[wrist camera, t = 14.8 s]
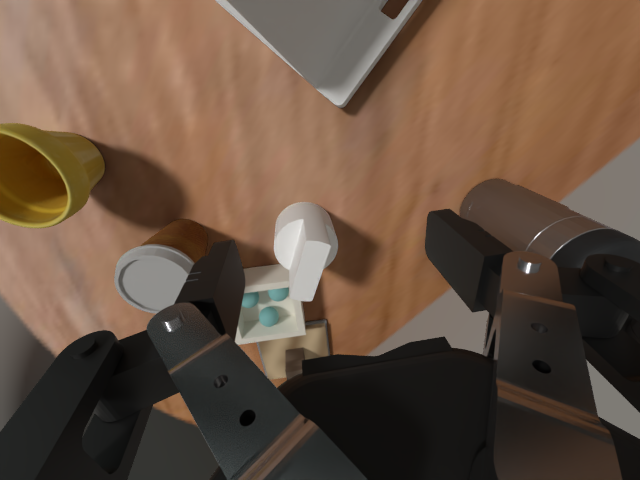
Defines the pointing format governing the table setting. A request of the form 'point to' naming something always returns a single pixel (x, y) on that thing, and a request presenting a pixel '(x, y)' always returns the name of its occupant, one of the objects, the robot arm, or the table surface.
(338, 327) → the table surface
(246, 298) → the ball
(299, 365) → the lid
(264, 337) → the box
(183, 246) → the disposable coffee cup
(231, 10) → the tablet stand
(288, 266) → the white knob
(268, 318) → the ball
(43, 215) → the plant pot
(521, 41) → the table surface
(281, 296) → the ball
